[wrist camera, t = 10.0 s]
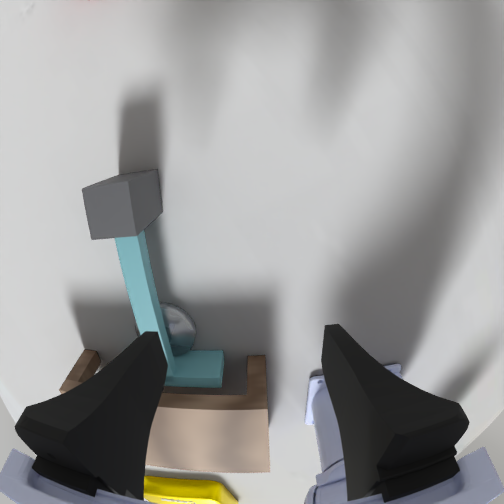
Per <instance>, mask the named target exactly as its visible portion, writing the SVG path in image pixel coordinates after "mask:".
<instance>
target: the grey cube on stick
mask: <svg viewBox="0 0 504 504" xmlns="http://www.w3.org/2000/svg"><path fill="white" fill-rule="evenodd" d="M82 193H83V199H84V204H85V210H86V215H87V220H88V225H89V230H90V234H91V239H92V240H96V239H108V238H115V242H116V246H117V251H118V255H119V260H120V264H121V268H122V272H123V276H124V280H125V284H126V288H127V291H128V295H129V299H130V302H131V306H132V309H133V312H134V316H135V319H136V322H137V326H138V329H139V332H140V335H141V334H143V333H144V332H145V331H158V334H159V337H160V341H161V344H162V347H163V351H164V354H165V357H166V360H167V363H168V369H167V375H166V380H165V385H164V386H176V387H200V388H221V387H222V378H223V369H224V354H223V350H189V351H188V352H187V353H185V354H183V355H180V356H175V357H173V354H172V350H171V347H170V343H169V339H168V336H167V332H166V328H165V324H164V321H163V317H162V313H161V309H160V305H159V300H158V296H157V292H156V287H155V283H154V278H153V274H152V269H151V264H150V259H149V254H148V249H147V244H146V238H145V233H144V229H145V228H146V227H147V226H148V225H149V224H150V223H151V222H152V221H154V220H155V219H156V218H157V217H158V216H159V215H160V214H161V213H162V212H163V210H162V202H161V195H160V187H159V178H158V169H156V170H148V171H141V172H134V173H128V174H121V175H117V176H114V177H111V178H109V179H106V180H103V181H101V182H98V183H95V184H93V185H90V186H88V187H85V188H83V189H82Z"/></svg>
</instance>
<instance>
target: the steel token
mask: <svg viewBox="0 0 504 504" xmlns="http://www.w3.org/2000/svg"><path fill="white" fill-rule="evenodd" d="M159 305H160V309H161V313H162V317H163V321H164V324H165V328H166V332H167V336H168V339H169V343H170V347H171V350H172V354H173V357H175V356H180V355H183V354H185V353H187V352H188V351H189V350H190V349H191V347H192V346H193V343H194V339H195V335H196V328H195V324H194V322H193V320H192V318H191V317H190V316H189V315H188V314H187V313H186V312H185V311H184V310H183V309H181V308H179V307H178V306H175V305H173V304H170V303H164V302H159ZM136 332H137V335H138V337H139V336H140V332H139V329H138V326H137V322H136Z"/></svg>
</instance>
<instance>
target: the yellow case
mask: <svg viewBox="0 0 504 504" xmlns="http://www.w3.org/2000/svg"><path fill="white" fill-rule="evenodd" d="M144 498H145V499H147V500H148V501H149V502H152V503H158V504H238V501H237V500H236V499H235V498H234V497H233V495H232V494H231V493H230V492H229V491H228V490H227V489H226V488H225V486H224V485H223V484H222V483H219V482H216V481H211V480H189V479H174V478H163V477H154V476H144Z"/></svg>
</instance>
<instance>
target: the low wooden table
mask: <svg viewBox="0 0 504 504" xmlns="http://www.w3.org/2000/svg"><path fill="white" fill-rule="evenodd" d="M100 363H101V361H100V358H99V356H98V354H97V352H96V351H92V350H84V351H83V353H82V354H81V356H80V357H79V359H78V360H77V362H76V364H75V365H74V367H73V368H72V370H71V371H70V373H69V375H68V376H67V378H66V380H65V381H64V383H63V384H62V386H61V388H60V389H59V391H60V392H61V394H63V393H65V392H67V391H69V390H71V389H73V388H74V387H76V386H78V385H80V384H82V383H83V382H85V381H86V380H88V379H89V378H91V377H92V376H94V374H95V372H96V370H97V369H98V367H99V365H100ZM145 465H151V466H157V467H164V468H172V469H180V470H190V471H203V472H222V473H262V472H270V455H269V429H268V405H267V383H266V361H265V355H257V356H248V367H247V395H195V394H174V393H162V394H161V397H160V401H159V404H158V407H157V410H156V413H155V416H154V419H153V422H152V426H151V430H150V435H149V441H148V447H147V455H146V463H145Z"/></svg>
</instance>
